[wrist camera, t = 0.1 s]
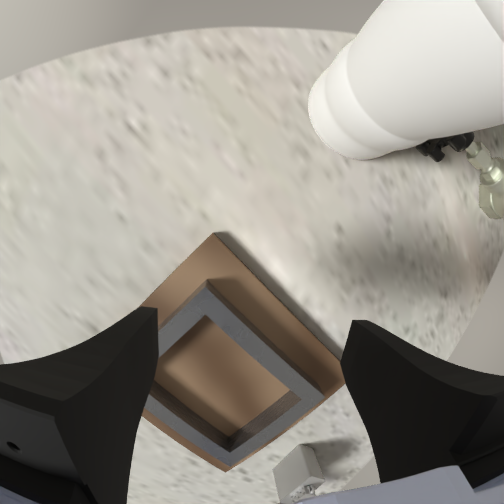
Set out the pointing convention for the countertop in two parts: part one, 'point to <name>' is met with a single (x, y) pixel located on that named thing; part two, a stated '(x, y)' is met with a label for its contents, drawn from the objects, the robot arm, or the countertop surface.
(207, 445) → the steel collar
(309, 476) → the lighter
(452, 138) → the valve
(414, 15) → the water bottle
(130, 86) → the countertop surface
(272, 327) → the walnut board
